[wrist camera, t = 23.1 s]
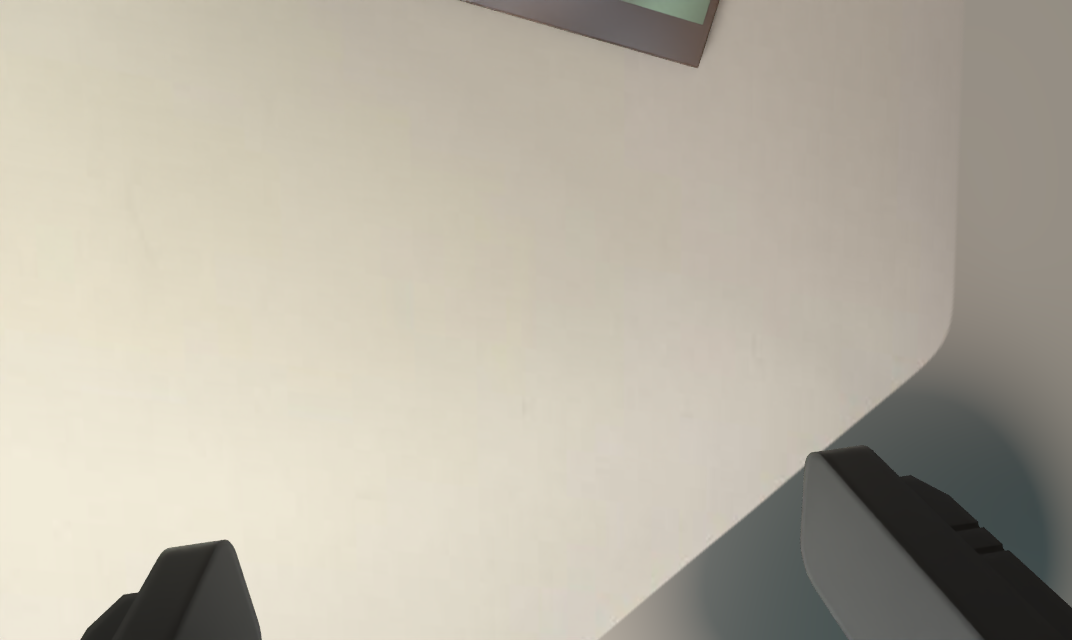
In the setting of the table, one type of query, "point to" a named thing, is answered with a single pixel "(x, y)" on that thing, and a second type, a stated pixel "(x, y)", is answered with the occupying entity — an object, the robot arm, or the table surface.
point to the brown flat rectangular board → (625, 22)
